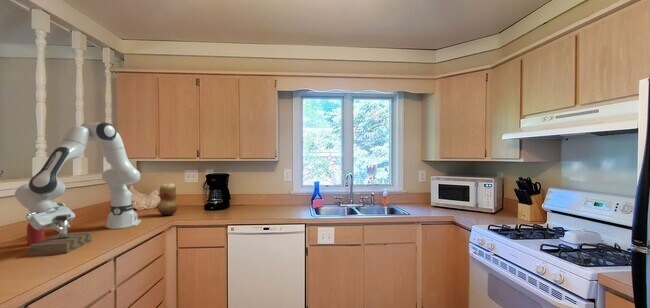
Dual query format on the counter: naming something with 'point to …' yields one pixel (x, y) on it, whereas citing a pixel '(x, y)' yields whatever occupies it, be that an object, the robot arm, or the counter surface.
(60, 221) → the steel peg
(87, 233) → the brown flat block
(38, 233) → the beer can
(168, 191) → the butternut squash
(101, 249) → the counter surface
